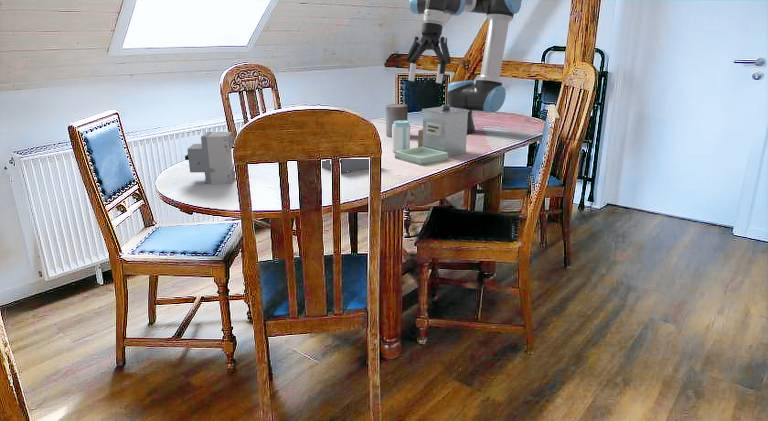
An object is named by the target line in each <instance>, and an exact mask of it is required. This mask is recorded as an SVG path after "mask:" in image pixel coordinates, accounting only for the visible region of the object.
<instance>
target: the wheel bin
mask: <svg viewBox="0 0 768 421" xmlns="http://www.w3.org/2000/svg"><path fill="white" fill-rule="evenodd" d="M340 163H341V173H342V174H344V173H343V172H347V171H352V172H354V171H353V170H357V171H360V170H359V169H362V170H366V169H365V168H367V169H370V168H369V159H341V160H340ZM321 168H324V169H327V170H328V171H329V170H330V171H332V170H331V164H330V160H326V161H322V167H321ZM347 173H348V172H347Z"/></svg>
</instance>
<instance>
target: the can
mask: <svg viewBox="0 0 768 421" xmlns="http://www.w3.org/2000/svg"><path fill="white" fill-rule="evenodd" d="M406 149H411V125H410V123H409V121H408V120H407V121H405V120H397V121H394V123H393V125H392V137H391V151H393V153H395V151H401V150H406Z"/></svg>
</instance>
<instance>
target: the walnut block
mask: <svg viewBox="0 0 768 421" xmlns="http://www.w3.org/2000/svg"><path fill="white" fill-rule="evenodd" d="M417 141H418V142H417V147H422V145H423V128H421V129H418V140H417Z"/></svg>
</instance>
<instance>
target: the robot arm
mask: <svg viewBox="0 0 768 421" xmlns="http://www.w3.org/2000/svg"><path fill="white" fill-rule="evenodd" d="M408 3H409V9H410V11H411V13H412V14H414V15H423V20H422V21H423V23H422V25H421V37H420V36H415V37H414V41H413V43H412V45H411V47H410V49H409V52H408V53H407V55H406V57H405V61H406V62H408V69H407V70H408V72H409V73H408V79H407V80H408V81H410V82H415V77H416V69H417V63H416V62H417V61H418V60H419V58H420V57H421V56H422V54H424V52H425V51H430V50H431V51H433V52H434V53H435V56H436V58H437V59H438V62H439V64H437V71H436V77H435V79H436V80H435V83H437V84H443V79H444V78H443V76H444V75H445V73H446V69H447V67H446V66H447V65H448V64H449V65H451V63H452V60H451V55H450V52H449V51H450V50H449V46H448V37H445V36H442V33H443V24H444V21H445V19H444V18H445V14H446V15H447V14H448V15H451V16H453V17H454V16H455V17H457V16H460V15H461V14H462V13H473V14H474V13H475V14H486V15H485V16H486V19H487V20H488V24H487V25H488V26H487V32H486V38H485V44H484V51H483V56H482V61H481V63H482V64H481V68H480V69H481V70H480V75H479V77H478V78H476V79H475V82H474V80H461V81H460V80H459V81H454V82H453V81H451V82H449V83H448V86H447V91H446V92H447V95H446V96H447V102H446V103H447V104H446V105H450V107H453V108H460V109H466V110H470V111H469V112H468V121H467V134H472V133H473V134H474V133H475V130H476V126H475V124H474V123H475V122H474V118H473V111H477V112H485V113H497V112H498V111H500V109H501V108H502V106H503V105H504V103H505V101H506V95H507V92H506V89H505V87H504V86H503V82H502V80H501V79H500V78H501V73H502V72H501V71H502V66H503V61H504V54H505V48H506V42H507V36H508V30H509V24H510V22H512V21H513V20H514V16H515V15H516V14H518V13H519V12H520V9H521V7H522V0H409V2H408ZM439 44H440V45H439Z"/></svg>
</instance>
